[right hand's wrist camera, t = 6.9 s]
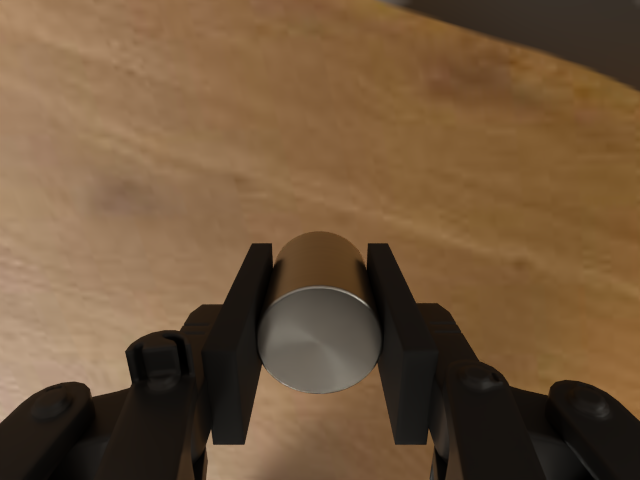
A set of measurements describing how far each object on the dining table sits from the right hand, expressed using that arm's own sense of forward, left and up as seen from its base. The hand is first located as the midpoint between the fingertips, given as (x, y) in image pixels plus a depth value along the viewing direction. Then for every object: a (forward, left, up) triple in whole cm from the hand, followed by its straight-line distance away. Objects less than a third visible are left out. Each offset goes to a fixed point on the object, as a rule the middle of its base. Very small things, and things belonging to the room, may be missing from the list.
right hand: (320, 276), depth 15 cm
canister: (0, 0, 0) cm, 0 cm away
